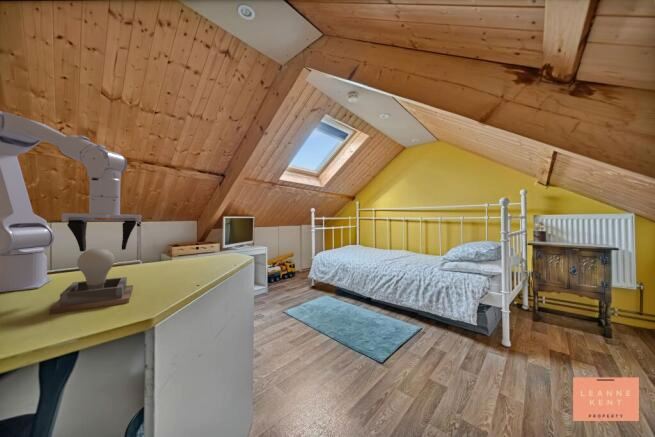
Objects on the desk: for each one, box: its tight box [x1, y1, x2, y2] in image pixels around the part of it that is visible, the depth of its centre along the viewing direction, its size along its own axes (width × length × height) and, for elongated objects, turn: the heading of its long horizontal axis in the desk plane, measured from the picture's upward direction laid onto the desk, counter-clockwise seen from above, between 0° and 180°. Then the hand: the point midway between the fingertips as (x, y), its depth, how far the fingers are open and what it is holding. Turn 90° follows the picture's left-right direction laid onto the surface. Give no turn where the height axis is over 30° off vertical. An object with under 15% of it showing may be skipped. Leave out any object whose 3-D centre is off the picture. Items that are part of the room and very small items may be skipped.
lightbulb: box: [76, 247, 116, 290], centre depth 54 cm, size 6×6×11 cm
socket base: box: [48, 276, 134, 315], centre depth 54 cm, size 11×12×4 cm
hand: (104, 250), depth 60 cm, fingers open, 7 cm apart
